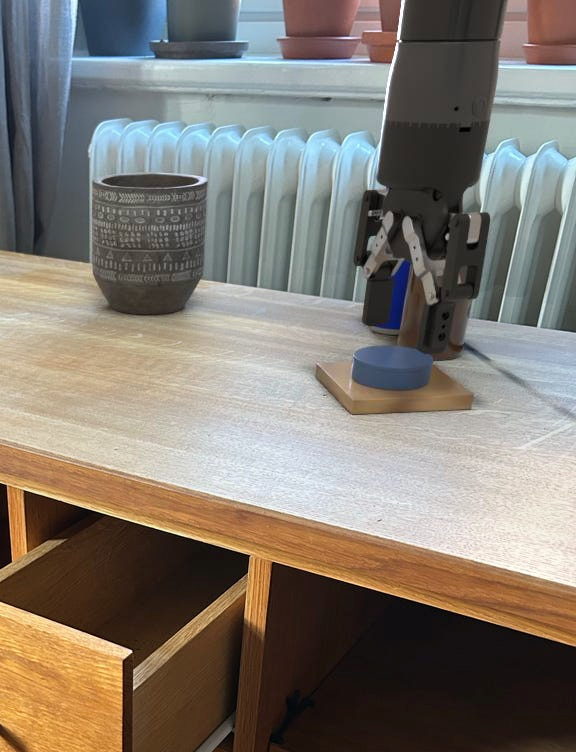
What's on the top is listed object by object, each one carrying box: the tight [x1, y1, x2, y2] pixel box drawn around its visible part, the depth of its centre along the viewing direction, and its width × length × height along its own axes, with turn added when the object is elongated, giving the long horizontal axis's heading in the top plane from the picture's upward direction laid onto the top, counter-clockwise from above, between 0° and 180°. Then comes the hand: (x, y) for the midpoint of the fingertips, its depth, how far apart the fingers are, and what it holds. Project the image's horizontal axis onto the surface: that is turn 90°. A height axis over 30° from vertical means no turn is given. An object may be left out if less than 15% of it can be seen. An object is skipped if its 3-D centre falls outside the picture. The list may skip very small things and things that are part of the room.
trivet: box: [314, 361, 475, 415], centre depth 81 cm, size 10×10×1 cm
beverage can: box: [368, 186, 410, 336], centre depth 93 cm, size 5×5×15 cm
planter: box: [91, 171, 209, 316], centre depth 103 cm, size 12×12×13 cm
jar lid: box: [351, 345, 434, 390], centre depth 80 cm, size 6×6×2 cm
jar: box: [396, 246, 474, 361], centre depth 88 cm, size 6×6×11 cm
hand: (401, 338), depth 78 cm, fingers open, 8 cm apart
